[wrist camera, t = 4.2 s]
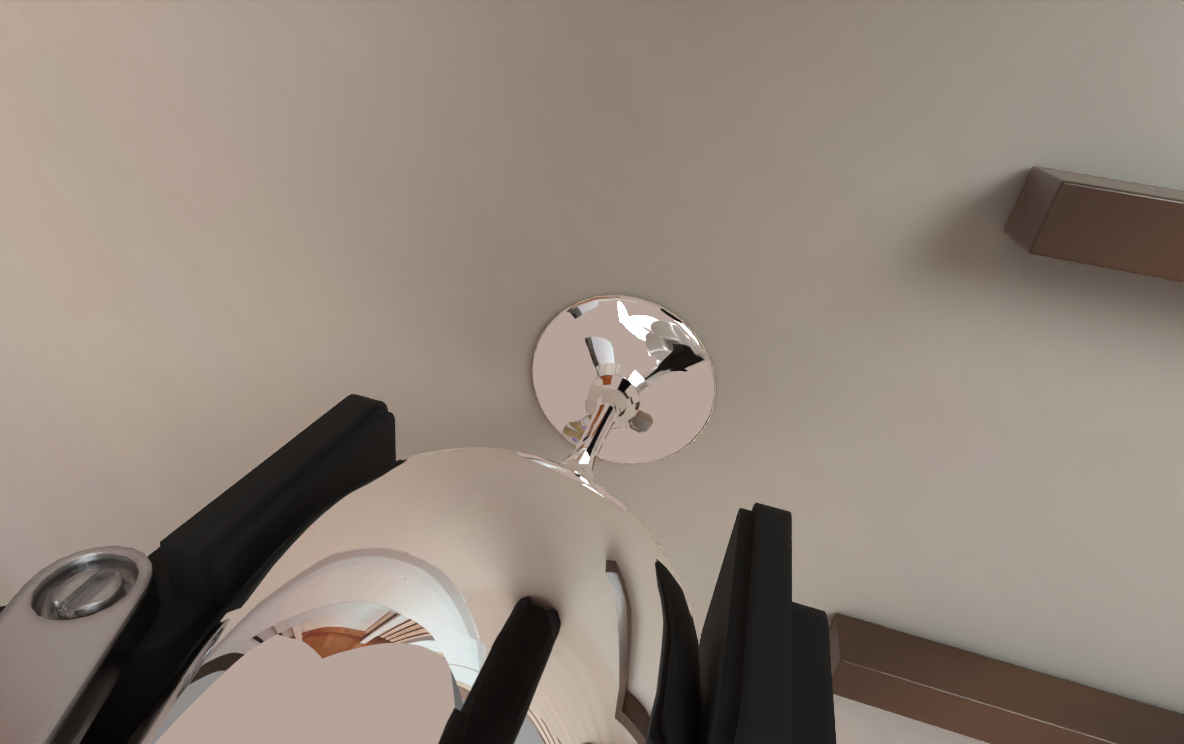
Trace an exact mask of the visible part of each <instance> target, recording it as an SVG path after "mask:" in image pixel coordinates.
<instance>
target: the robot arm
mask: <svg viewBox="0 0 1184 744" xmlns="http://www.w3.org/2000/svg"><path fill="white" fill-rule="evenodd" d="M395 461H396V452H395V417H394V415H393V414H392V413H391V412H388V408H387V406H386V404H385V403H384V402H382V401H378V400H374V399H371V398H367V397H363V396H360V395H356V394H351V395H349V396H347V397H346V398H345V399H343V400H342V401H341V402H339V403H338V404H337V405H336V406H334V407H333V408H332V409H330V410H329V411H328V412H327V413H325V414H324V415H323V416H321V417H320V418H319V419H318V420H316V421H315V422H314V423H312V424H311V425H310V426H309V427H307V428H306V429H305V430H303V431H302V432H301V433H300V434H298V435H297V436H296V437H294V438H293V439H292V440H291V441H289V442H288V443H287V444H285V445H284V446H283V447H282V448H280V449H279V450H278V451H276V452H275V453H274V454H273V455H271V456H270V457H269V458H267V459H266V460H265V461H264V462H262V463H261V464H260V465H258V466H257V467H256V468H255V469H253V470H252V471H251V472H249V473H248V474H247V475H246V476H244V477H243V478H242V479H240V480H239V481H238V482H237V483H235V484H234V485H233V486H231V487H230V488H229V489H228V490H226V491H225V492H224V493H222V494H221V495H220V496H219V497H217V498H216V499H215V500H213V501H212V502H211V503H210V504H208V505H207V506H206V507H204V508H203V509H202V510H201V511H199V512H198V513H197V514H195V515H194V516H193V517H192V518H190V519H189V520H188V521H186V522H185V523H184V524H183V525H181V526H180V527H179V528H177V529H176V530H175V531H174V532H172V533H171V534H170V535H168V536H167V537H166V538H165V539H163V540H162V541H161V542H160V545H161V546H160V547H159V548H158V549H157V550H155V551H154V552H153V553H152V554H150V555H149V556H148V557H147V556H146V555H145V554H144V553H142V552H140V551H138V550H136V549H134V548H128V547H121V546H107V547H96V548H92V549H88V550H84V551H80V552H77V553H74V554H72V555H69V556H67V557H64V558H62V559H59V560H57V561H56V562H54V563H52V564H51V565H49V566H47V567H46V568H44V569H42V570H41V571H39V572H38V573H37V574H36V575H35V576H34V577H33V578H31V579H30V580H29V581H28V582H27V583H26V584H25V585H24V586H23V587H22V588H21V590H20V591H19V592H18V593H17V594H16V595H15V596H14V598H13V599H12V600H11V601H10V602H9V603H8V604H7V606H2V607H0V744H123V743H124V742H125V740H126V739H127V737H128V736H129V734H130V733H131V731H132V730H133V728H134V727H135V725H136V724H137V723H138V721H139V720H140V718H141V717H142V715H143V714H144V712H145V711H146V709H147V708H148V706H149V705H150V703H151V702H152V700H153V699H154V698H155V696H156V695H157V693H158V692H159V690H160V689H161V687H162V686H163V684H164V683H165V681H166V680H167V679H168V677H169V676H170V674H171V673H172V672H173V670H174V669H175V668H176V666H177V665H178V664H179V662H180V661H181V659H182V658H183V657H184V655H185V654H186V653H187V651H188V650H189V649H190V647H191V646H192V644H193V643H194V642H195V640H196V639H197V638H198V636H199V635H200V634H201V632H202V631H203V630H204V628H205V627H206V626H207V625H208V623H209V622H210V621H211V620H212V618H213V617H214V616H215V614H216V613H217V612H218V611H219V609H220V608H221V607H222V606H223V604H224V603H225V602H226V601H227V599H228V598H229V597H230V596H231V595H232V593H233V592H234V591H235V590H236V589H237V588H238V586H239V585H240V584H241V583H242V582H243V581H244V579H245V578H246V577H247V576H248V575H249V574H250V573H251V572H252V571H253V570H254V569H255V567H256V566H257V565H258V564H259V563H260V562H261V561H262V560H263V559H264V558H265V557H266V556H267V555H268V554H269V552H270V551H271V550H272V549H273V548H274V547H275V546H276V545H277V544H278V543H279V542H280V541H281V540H282V539H283V538H284V537H285V536H286V535H287V534H288V533H289V532H290V531H291V530H292V529H294V528H295V527H296V526H297V525H298V524H299V523H300V522H301V521H302V520H304V519H305V518H306V517H307V516H308V515H310V514H311V513H312V512H313V511H315V510H316V509H317V508H318V507H320V506H321V505H322V504H324V503H325V502H327V501H328V500H329V499H331V498H332V497H334V496H335V495H337V494H338V493H340V492H341V491H343V490H344V489H346V488H347V487H349V486H350V485H351V484H353V483H354V482H356V481H357V480H359V479H360V478H362V477H364V476H366V475H368V474H370V473H372V472H374V471H376V470H378V469H380V468H382V467H384V466H386V465H388V464H390V463H392V462H395ZM699 660H700V675H701V690H702V723H701V739H700V744H836V732H835V717H834V702H833V687H832V672H831V657H830V642H829V627H828V619H827V615H826V613H825V611H822V610H818V609H815V608H811V607H808V606H805V605H801V604H798V603H794V602H792V517H791V512H789V511H785V510H781V509H778V508H774V507H770V506H767V505H763V504H759V503H755V504H754V506H753V509H752V511H750V510H746V509H742V508H740V509H739V511H738V514H737V517H736V521H735V524H734V527H733V530H732V534H731V537H730V540H729V544H728V547H727V550H726V554H725V557H724V560H723V563H722V567H721V570H720V573H719V577H718V580H717V583H716V586H715V590H714V593H713V596H712V600H711V603H710V606H709V610H708V613H707V616H706V619H705V623H704V626H703V630H702V634H701V639H700V644H699Z"/></svg>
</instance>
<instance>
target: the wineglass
mask: <svg viewBox="0 0 1184 744" xmlns="http://www.w3.org/2000/svg"><path fill="white" fill-rule="evenodd" d="M532 377H533V385H534V390H535V393H536V397H537V399H538V402H539V404H540V406H541V409H542V411H543V412H544V414H545V416H546V417H547V419H548V420H549V421H550V423H551V424H552V426H553V427H554V428H555V429H556V430H557V431H558V432H559V433H560V434H561V435H562V436H563V437H564V438H565V439H566V440H567V441H569V442H570V443H571V444H573V445H574V446H575V448H574V450H573V451H572V452H571V453H570V454H569V455H568V456H567V457H566V458H565V460H564V461H563V462H562V463H559V464H558V463H556V462H554V461H550V460H547V459H544V458H541V457H538V456H535V455H531V454H526V453H522V452H517V451H512V450H506V449H500V448H494V447H459V448H451V449H444V450H437V451H431V452H424V453H420V454H417V455H413V456H409V457H406V458H403V459H401V460H398V461H395V462H392V463H390V464H388V465H386V466H384V467H382V468H380V469H378V470H376V471H374V472H372V473H370V474H368V475H366V476H364V477H362V478H360V479H359V480H357V481H356V482H354V483H353V484H351V485H350V486H349V487H347V488H346V489H344V490H343V491H341V492H340V493H338V494H337V495H335V496H334V497H332V498H331V499H329V500H328V501H327V502H325V503H324V504H322V505H321V506H320V507H318V508H317V509H316V510H315V511H313V512H312V513H311V514H310V515H308V516H307V517H306V518H305V519H304V520H302V521H301V522H300V523H299V524H298V525H297V526H296V527H295V528H294V529H292V530H291V531H290V532H289V533H288V534H287V535H286V536H285V537H284V538H283V539H282V540H281V541H280V542H279V543H278V544H277V545H276V546H275V547H274V548H273V549H272V550H271V551H270V552H269V554H268V555H267V556H266V557H265V558H264V559H263V560H262V561H261V562H260V563H259V564H258V565H257V566H256V567H255V569H254V570H253V571H252V572H251V573H250V574H249V575H248V576H247V577H246V578H245V579H244V581H243V582H242V583H241V584H240V585H239V586H238V588H237V589H236V590H235V591H234V592H233V593H232V595H231V596H230V597H229V598H228V599H227V601H226V602H225V603H224V604H223V606H222V607H221V608H220V609H219V611H218V612H217V613H216V614H215V616H214V617H213V618H212V620H211V621H210V622H209V623H208V625H207V626H206V627H205V628H204V630H203V631H202V632H201V634H200V635H199V636H198V638H197V639H196V640H195V642H194V643H193V644H192V646H191V647H190V649H189V650H188V651H187V653H186V654H185V655H184V657H183V658H182V659H181V661H180V662H179V664H178V665H177V666H176V668H175V669H174V670H173V672H172V673H171V674H170V676H169V677H168V679H167V680H166V681H165V683H164V684H163V686H162V687H161V689H160V690H159V692H158V693H157V695H156V696H155V698H154V699H153V700H152V702H151V703H150V705H149V706H148V708H147V709H146V711H145V712H144V714H143V715H142V717H141V718H140V720H139V721H138V723H137V724H136V725H135V727H134V728H133V730H132V731H131V733H130V734H129V736H128V737H127V739H126V740H125V742H124V743H123V744H700V739H701V723H702V690H701V675H700V660H699V645H698V639H697V635H696V630H695V626H694V621H693V617H692V612H691V609H690V606H689V603H688V601H687V598H686V596H685V593H684V590H683V588H682V585H681V582H680V580H679V578H678V576H677V574H676V573H675V571H674V569H673V567H672V565H671V564H670V562H669V561H668V559H667V558H666V556H665V554H664V553H663V551H662V550H661V548H660V547H659V545H658V544H657V542H656V541H655V539H654V537H653V536H652V534H651V533H650V531H649V530H648V529H647V528H646V527H645V526H644V525H643V524H642V523H641V522H640V521H639V520H638V519H637V518H636V517H635V515H634V514H633V513H631V512H630V511H629V510H628V509H627V508H626V507H625V506H624V505H623V504H622V503H621V502H620V501H619V500H618V499H617V498H615V497H614V496H613V495H611V494H610V493H609V492H608V491H606V490H605V489H604V488H602V487H601V486H599V485H597V484H596V483H594V482H593V476H594V470H595V465H596V459H597V458H600V459H602V460H606V461H610V462H614V463H620V464H631V465H636V464H648V463H654V462H658V461H662V460H664V459H667V458H670V457H672V456H674V455H676V454H678V453H679V452H681V451H682V450H684V449H685V448H687V447H688V446H689V445H690V444H692V443H693V442H694V441H695V440H696V439H697V437H698V436H699V435H700V434H701V433H702V432H703V430H704V429H705V427H706V425H707V423H708V421H709V419H710V418H711V415H712V411H713V408H714V405H715V398H716V377H715V372H714V368H713V364H712V361H711V358H710V356H709V354H708V353H707V351H706V349H705V347H704V345H703V344H702V342H701V340H700V339H699V337H698V336H697V335H696V334H695V332H694V331H693V330H692V329H691V328H690V327H689V326H688V325H687V324H686V323H685V322H684V321H683V320H682V319H681V318H679V317H678V316H676V315H675V314H674V313H672V312H670V311H669V310H667V309H666V308H664V307H662V306H661V305H658V304H656V303H653V302H650V301H647V300H645V299H642V298H639V297H633V296H625V295H618V294H615V295H602V296H595V297H591V298H588V299H585V300H582V301H579V302H576V303H574V304H573V305H571V306H569V307H568V308H566V309H564V310H563V311H561V312H560V313H559V314H558V315H557V316H556V317H555V318H554V319H553V320H552V321H551V322H550V323H549V324H548V325H547V327H546V328H545V330H544V331H543V333H542V335H541V336H540V338H539V340H538V343H537V346H536V349H535V352H534V357H533V365H532Z"/></svg>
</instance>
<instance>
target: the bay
mask: <svg viewBox="0 0 1184 744" xmlns="http://www.w3.org/2000/svg"><path fill="white" fill-rule="evenodd" d="M1005 233H1006V234H1007V235H1009V236H1010V237H1011V238H1012V239H1013V240H1015V241H1016V242H1017V243H1018V244H1019V245H1021V246H1022V247H1023V248H1024V249H1025V250H1027V251H1028V252H1029V253H1030V254H1034V255H1039V256H1045V257H1050V258H1055V259H1061V260H1066V261H1071V262H1076V263H1082V264H1087V265H1092V266H1098V267H1103V268H1108V269H1113V270H1119V271H1124V272H1129V273H1135V274H1140V275H1145V276H1151V277H1156V278H1161V279H1166V280H1172V281H1177V282H1182V283H1184V191H1179V190H1173V189H1167V188H1161V187H1155V186H1149V185H1143V184H1137V183H1131V182H1125V181H1119V180H1113V179H1107V178H1101V177H1095V176H1089V175H1083V174H1077V173H1071V172H1065V171H1059V170H1053V169H1047V168H1041V167H1033V168H1032V169H1031V171H1030V173H1029V176H1028V178H1027V180H1026V183H1025V185H1024V187H1023V189H1022V192H1021V194H1020V196H1019V199H1018V201H1017V203H1016V205H1015V208H1014V210H1013V212H1012V215H1011V217H1010V219H1009V221H1008V224H1007V226H1006V228H1005ZM829 642H830V657H831V672H832V687H833V694H836V695H839V696H842V697H845V698H848V699H851V700H855V701H858V702H861V703H864V704H867V705H870V706H874V707H877V708H880V709H883V710H886V711H889V712H893V713H896V714H899V715H902V716H905V717H908V718H912V719H915V720H918V721H921V722H924V723H927V724H931V725H934V726H937V727H940V728H943V729H947V730H950V731H953V732H956V733H959V734H962V735H966V736H969V737H972V738H975V739H978V740H981V741H985V742H988V743H991V744H1184V715H1181V714H1178V713H1175V712H1171V711H1168V710H1164V709H1161V708H1158V707H1154V706H1151V705H1147V704H1144V703H1141V702H1137V701H1134V700H1130V699H1127V698H1124V697H1120V696H1117V695H1113V694H1110V693H1107V692H1103V691H1100V690H1096V689H1093V688H1089V687H1086V686H1083V685H1079V684H1076V683H1072V682H1069V681H1066V680H1062V679H1059V678H1055V677H1052V676H1049V675H1045V674H1042V673H1038V672H1035V671H1032V670H1028V669H1025V668H1021V667H1018V666H1015V665H1011V664H1008V663H1004V662H1001V661H998V660H994V659H991V658H987V657H984V656H981V655H977V654H974V653H970V652H967V651H964V650H960V649H957V648H953V647H950V646H947V645H943V644H940V643H936V642H933V641H930V640H926V639H923V638H919V637H916V636H913V635H909V634H906V633H902V632H899V631H896V630H892V629H889V628H885V627H882V626H879V625H875V624H872V623H868V622H865V621H862V620H858V619H855V618H851V617H848V616H844V615H841V614H837V615H836V617H835V619H834V621H833V624H832V626H831V628H830V630H829Z"/></svg>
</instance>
